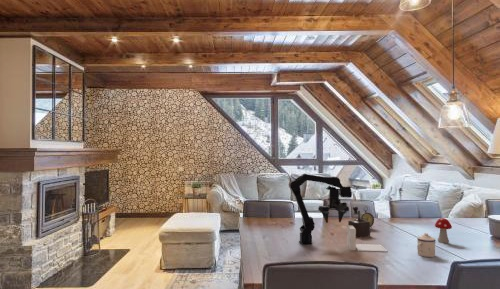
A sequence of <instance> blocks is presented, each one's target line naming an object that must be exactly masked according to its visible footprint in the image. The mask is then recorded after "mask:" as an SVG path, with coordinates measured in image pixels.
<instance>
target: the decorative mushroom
mask: <svg viewBox="0 0 500 289" xmlns="http://www.w3.org/2000/svg"><path fill="white" fill-rule="evenodd" d="M435 227H436V228H438V229H439V233H438V238H437V241H438V243H440V244H446V245H447V244H449V242H450V240H449V237H448V233H447V232H448V231H447V230H450V229H453V226H452V224H451V222H450V221H449V220H448V219H446V218H444V217H443V218H438V219H437V220H436V222H435V224H434V228H435Z"/></svg>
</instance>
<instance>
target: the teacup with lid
mask: <svg viewBox="0 0 500 289" xmlns="http://www.w3.org/2000/svg"><path fill="white" fill-rule="evenodd" d="M416 240H417V249H416V250H417V254H418V256H420V257H425V258H434V257H436V238H435V237H432V236H431V235H429V234H428V233H424V234H423V235H420V236H417V238H416Z"/></svg>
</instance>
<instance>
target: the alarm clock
mask: <svg viewBox="0 0 500 289" xmlns="http://www.w3.org/2000/svg"><path fill="white" fill-rule="evenodd" d="M365 208H366V210H365ZM363 211H364V212H360V218H363V219H364V220H366V221H368V222H370V229H373V227H372V226H373V225H374V222H375V217H374V215H373V214H372V213H371V212H367V211H368V207H366V206H364V207H363Z"/></svg>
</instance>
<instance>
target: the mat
mask: <svg viewBox="0 0 500 289" xmlns="http://www.w3.org/2000/svg"><path fill="white" fill-rule="evenodd" d="M356 250H357V252H374V253H388V250H387V249H386V248H385V247H384V246H383V245H382V244H372V243H371V244H370V243H367V244H365V243H356Z"/></svg>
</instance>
